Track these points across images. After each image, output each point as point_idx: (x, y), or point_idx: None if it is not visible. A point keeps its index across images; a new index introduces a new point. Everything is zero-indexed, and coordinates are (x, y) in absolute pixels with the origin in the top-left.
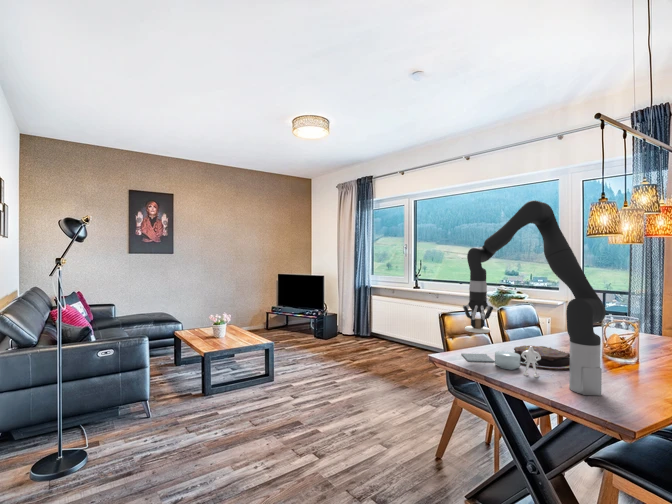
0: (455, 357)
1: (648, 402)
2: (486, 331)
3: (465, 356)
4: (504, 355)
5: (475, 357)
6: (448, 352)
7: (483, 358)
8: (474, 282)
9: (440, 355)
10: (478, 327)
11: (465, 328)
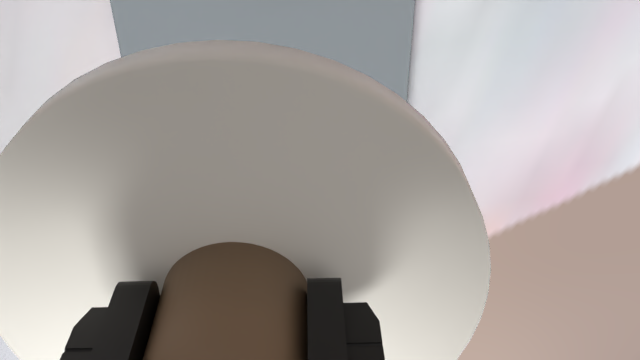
0: (500, 65)
1: None
2: (77, 86)
3: (395, 68)
4: None
5: (292, 41)
6: (498, 224)
7: (207, 8)
8: None
9: (630, 120)
10: (229, 264)
11: (484, 283)
